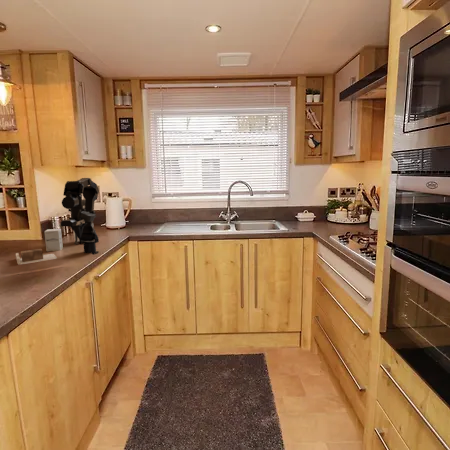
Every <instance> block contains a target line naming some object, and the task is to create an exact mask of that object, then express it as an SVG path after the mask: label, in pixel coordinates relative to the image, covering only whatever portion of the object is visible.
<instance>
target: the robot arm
mask: <svg viewBox="0 0 450 450" xmlns="http://www.w3.org/2000/svg"><path fill="white" fill-rule="evenodd" d="M63 189H64V190H63V194H62V195H63V196H65V197H63V198H62V200H61V205H62V207H63V208H64V209H66V210H67V211H68V212H70V217H68V219H67V218H66V219H63V220H61V221H60V227H66V228H67V227H70V228H71V229H72V232H73V231H74V232H75V234H76V235H77V237H78V238H79V241H80V242H79V244H80V245H83V253H84V254H91V255H96V254H98V253H99V251H98V250H97V246H96V244H97V243H99V241H100V240H99V236H98V235H97V231H96V229H95V228H94V220H95V218H97V214H96V211H95V209H94V208H95V202H96V200H97V199H98V197H99V193H100V192H99V191H100V189H99V187H98V185H97V183H96V182H94V180H92V178H90V177H82V178H80V179H77V180H71V181H70V180H67V181H66V183H65V184H64V188H63ZM83 198H84V199H85V208H83V204H82V199H83Z"/></svg>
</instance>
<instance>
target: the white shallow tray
mask: <svg viewBox="0 0 450 450" xmlns="http://www.w3.org/2000/svg"><path fill="white" fill-rule="evenodd" d="M15 259H16V263H17V265H26V264H31V263H32V264H33V263H37V262H38V263H39V262H45V261H50V260H57V259H58V257H57V256H56V255H55V254H54V253H50V254H49V253H47V254H43V259H39V260H33V261H26V262H22V257H20V254H19V252H16V253H15Z"/></svg>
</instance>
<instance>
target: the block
mask: <svg viewBox="0 0 450 450" xmlns="http://www.w3.org/2000/svg"><path fill="white" fill-rule="evenodd" d="M20 255H21V257H20V258H22V262H26V261H33V260H39V259H43V255H44V254H43V249H42V248H36V249H30V250H22V251H20Z"/></svg>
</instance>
